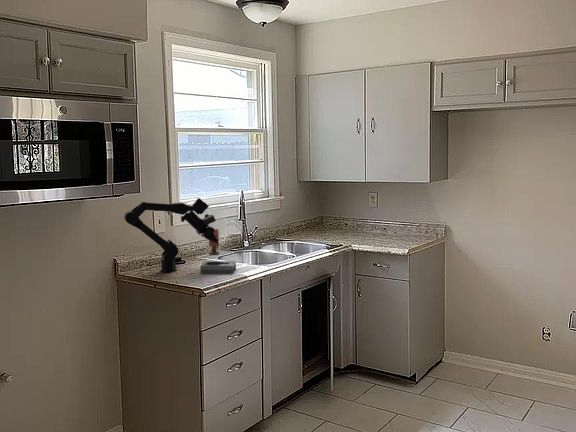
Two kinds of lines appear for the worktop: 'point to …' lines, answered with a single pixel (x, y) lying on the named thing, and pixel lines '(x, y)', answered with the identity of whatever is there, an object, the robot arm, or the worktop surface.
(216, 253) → the peg
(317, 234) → the worktop surface
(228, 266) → the keyhole plate
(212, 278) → the worktop surface
